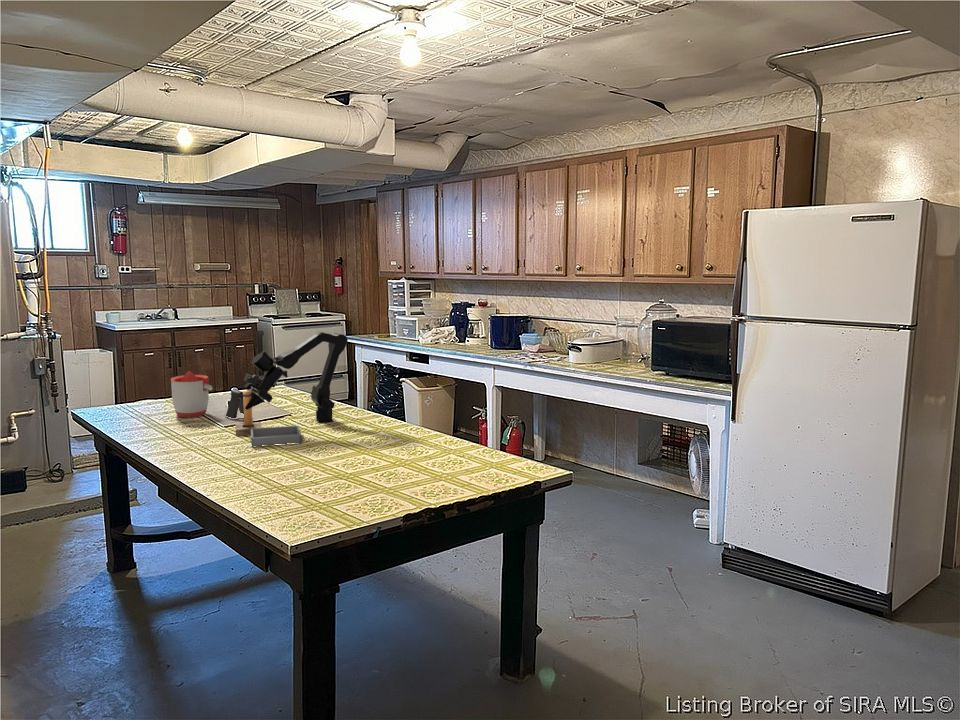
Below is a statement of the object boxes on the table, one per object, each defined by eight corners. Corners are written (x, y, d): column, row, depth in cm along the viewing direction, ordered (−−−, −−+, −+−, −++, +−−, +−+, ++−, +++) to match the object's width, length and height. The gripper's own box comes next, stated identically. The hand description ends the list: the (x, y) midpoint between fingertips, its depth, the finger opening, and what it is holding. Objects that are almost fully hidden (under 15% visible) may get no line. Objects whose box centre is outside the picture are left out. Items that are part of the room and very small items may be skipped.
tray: (298, 433, 282) (298, 425, 282) (301, 443, 269) (301, 435, 268) (250, 437, 276) (250, 428, 276) (251, 447, 263) (251, 438, 262)
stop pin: (252, 423, 286) (251, 390, 283) (252, 425, 283) (251, 391, 280) (244, 423, 285) (242, 390, 282) (244, 425, 282) (242, 392, 279)
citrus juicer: (206, 419, 302) (204, 374, 298) (166, 419, 302) (163, 374, 298) (219, 411, 317) (217, 368, 314) (181, 410, 317) (179, 367, 314)
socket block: (261, 427, 290) (260, 421, 290) (261, 434, 281) (261, 428, 281) (235, 429, 287) (235, 423, 287) (235, 435, 278) (235, 429, 278)
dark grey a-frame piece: (232, 420, 302) (231, 393, 300) (225, 417, 306) (224, 391, 304) (251, 416, 308) (250, 390, 306) (244, 414, 312) (243, 388, 310)
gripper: (248, 363, 289) (222, 391, 285) (263, 370, 275) (236, 400, 270) (267, 379, 295) (242, 408, 291) (283, 387, 281) (257, 417, 276)
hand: (244, 408), depth 282 cm, fingers closed on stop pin, 3 cm apart
